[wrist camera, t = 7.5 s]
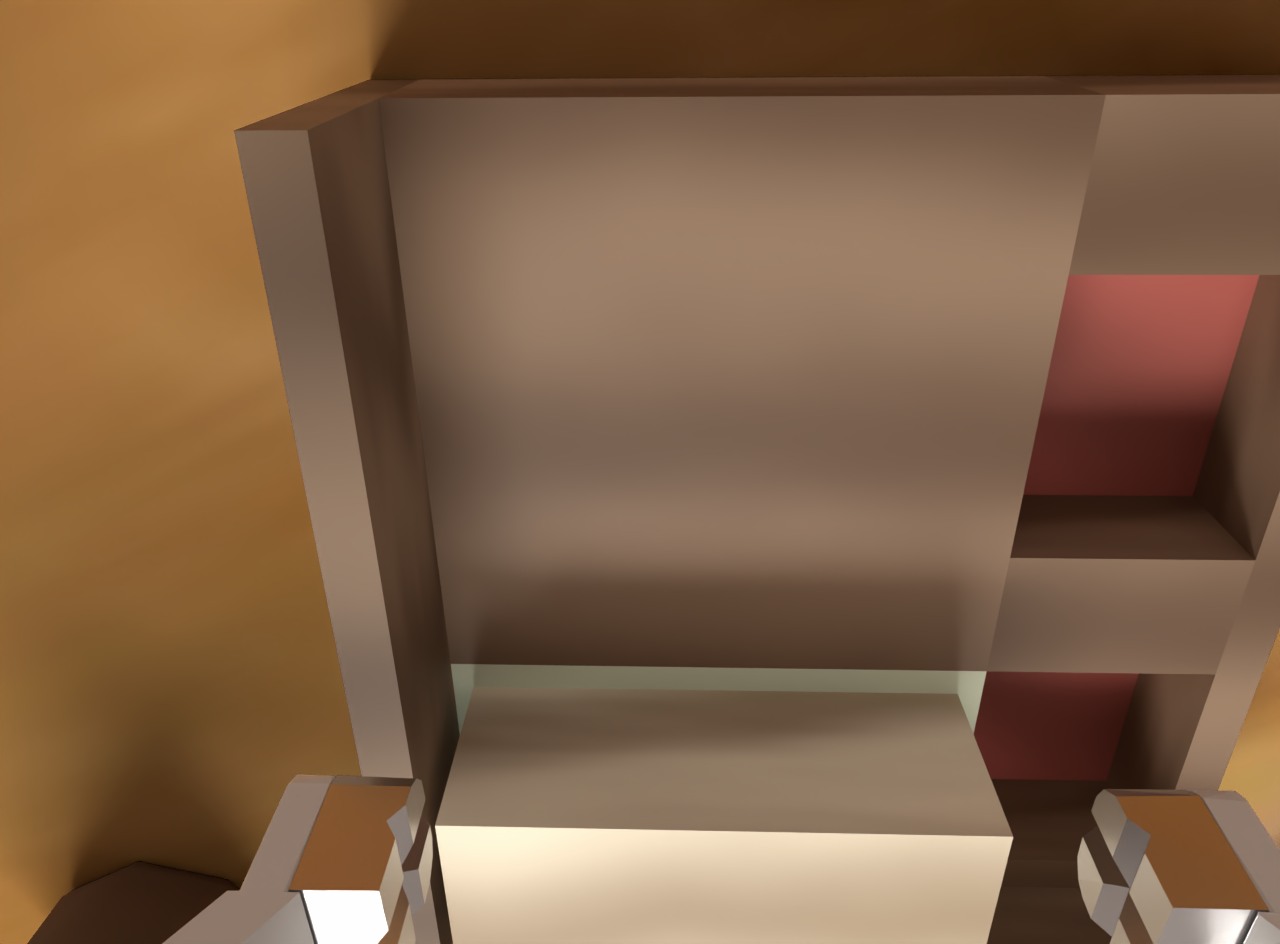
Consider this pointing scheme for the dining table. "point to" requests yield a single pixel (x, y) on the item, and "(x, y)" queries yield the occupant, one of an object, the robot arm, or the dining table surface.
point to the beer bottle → (130, 907)
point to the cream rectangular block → (719, 819)
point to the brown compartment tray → (796, 410)
